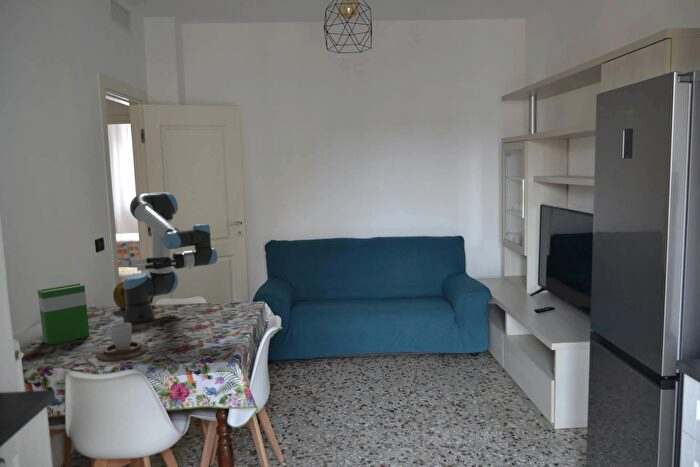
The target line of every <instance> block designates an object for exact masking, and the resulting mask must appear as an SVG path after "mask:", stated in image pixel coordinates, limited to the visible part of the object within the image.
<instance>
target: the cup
mask: <svg viewBox="0 0 700 467" xmlns="http://www.w3.org/2000/svg"><path fill="white" fill-rule="evenodd" d="M132 331H133V329H132V324H131V323H124V322H120V323H117V324H116V323H114V324H112V325H111V326H110V334H111V338H112V341H113V344H115V346H116V349H117V350H120V351H121V350H127V349H129V348H130V344H131V341H132V336H133V333H132Z"/></svg>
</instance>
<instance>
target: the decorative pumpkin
mask: <svg viewBox="0 0 700 467" xmlns="http://www.w3.org/2000/svg"><path fill="white" fill-rule="evenodd" d="M112 294H113V295H112V296H113V301H114V304H115V305H116V306H117V308H120V309H121V310H125V308H126V302H125V292H124V280H122V281H121V282H119V283H118V284H117V285H116V286H115V288H114V290H113V293H112ZM153 300H154V297H150V304H153Z"/></svg>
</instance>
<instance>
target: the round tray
mask: <svg viewBox="0 0 700 467" xmlns="http://www.w3.org/2000/svg"><path fill="white" fill-rule="evenodd" d="M148 351H149V345H148V344H147V343H143V342H140V341H137V340H135V341H132V340H131V344H130V348H129V349H127V350H121V351H120V350H117V349H116V346H115V344H114V343H112V344H109V345H107V346H105V347H104V348H102V349H100V350H99V351H98V352H96V358H97V359H98V360H99V361H104V362H118V361H124V360H130V359H133V358H137V357H139V356H142V355H143V354H146V353H147V352H148Z"/></svg>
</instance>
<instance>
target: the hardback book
mask: <svg viewBox="0 0 700 467" xmlns="http://www.w3.org/2000/svg"><path fill="white" fill-rule="evenodd" d="M37 295H38V305H39V312H40V321H41V322H40V323H41V331H42V332H41V333H42V340H43V341H44V342H46V343H47V344H51V345H55V344H59V343H64V342H67V341H73V340H77V339H81V338H86V337H89V336H91V335H90V328H89V318H88V317H89V316H88V306H87V296H86V285H84V284H83V285H81V283H73V284H68V285H67V284H66V285H61V286H56V287H49V288H43V289H37ZM44 342H43V343H44ZM46 343H45V344H46ZM54 343H55V344H54ZM47 344H46V345H47Z"/></svg>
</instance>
